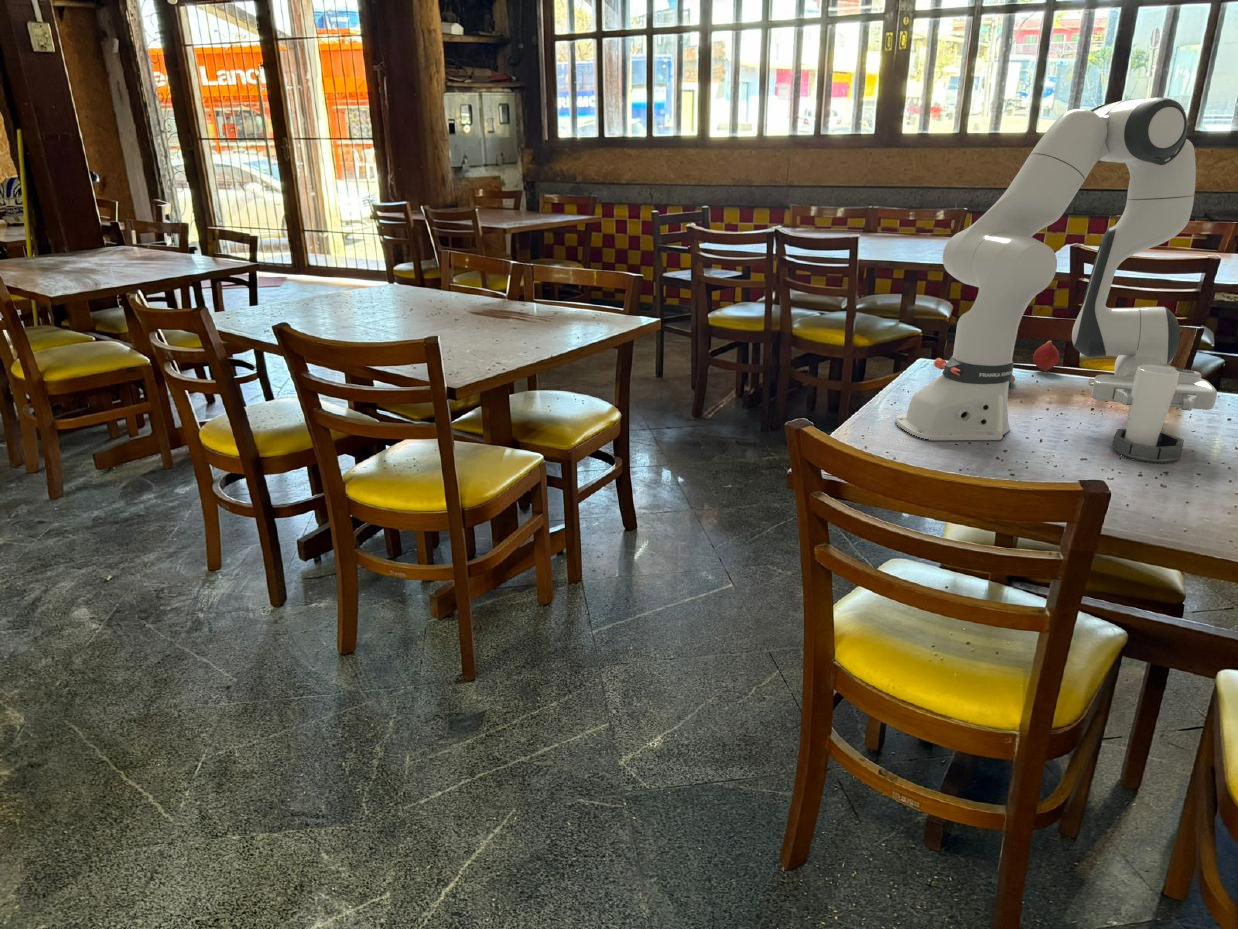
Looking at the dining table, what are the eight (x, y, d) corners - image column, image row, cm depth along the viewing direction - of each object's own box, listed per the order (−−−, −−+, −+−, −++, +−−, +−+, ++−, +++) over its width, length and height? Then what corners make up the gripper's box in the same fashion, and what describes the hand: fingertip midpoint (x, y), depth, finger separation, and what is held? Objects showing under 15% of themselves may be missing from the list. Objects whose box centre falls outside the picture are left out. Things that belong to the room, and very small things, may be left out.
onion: (1027, 371, 211) (1033, 340, 209) (1035, 367, 215) (1040, 336, 212) (1052, 376, 208) (1058, 344, 205) (1059, 371, 212) (1065, 340, 209)
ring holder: (1140, 465, 153) (1144, 450, 152) (1099, 445, 163) (1102, 430, 162) (1194, 461, 154) (1198, 446, 153) (1149, 441, 164) (1152, 426, 163)
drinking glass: (1157, 455, 154) (1178, 376, 149) (1116, 447, 158) (1135, 370, 153) (1161, 445, 160) (1181, 368, 154) (1121, 438, 163) (1139, 362, 158)
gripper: (1090, 363, 169) (1097, 381, 157) (1209, 372, 161) (1226, 392, 150) (1084, 393, 171) (1090, 413, 159) (1201, 403, 164) (1218, 425, 152)
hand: (1157, 403), depth 154 cm, fingers open, 8 cm apart
